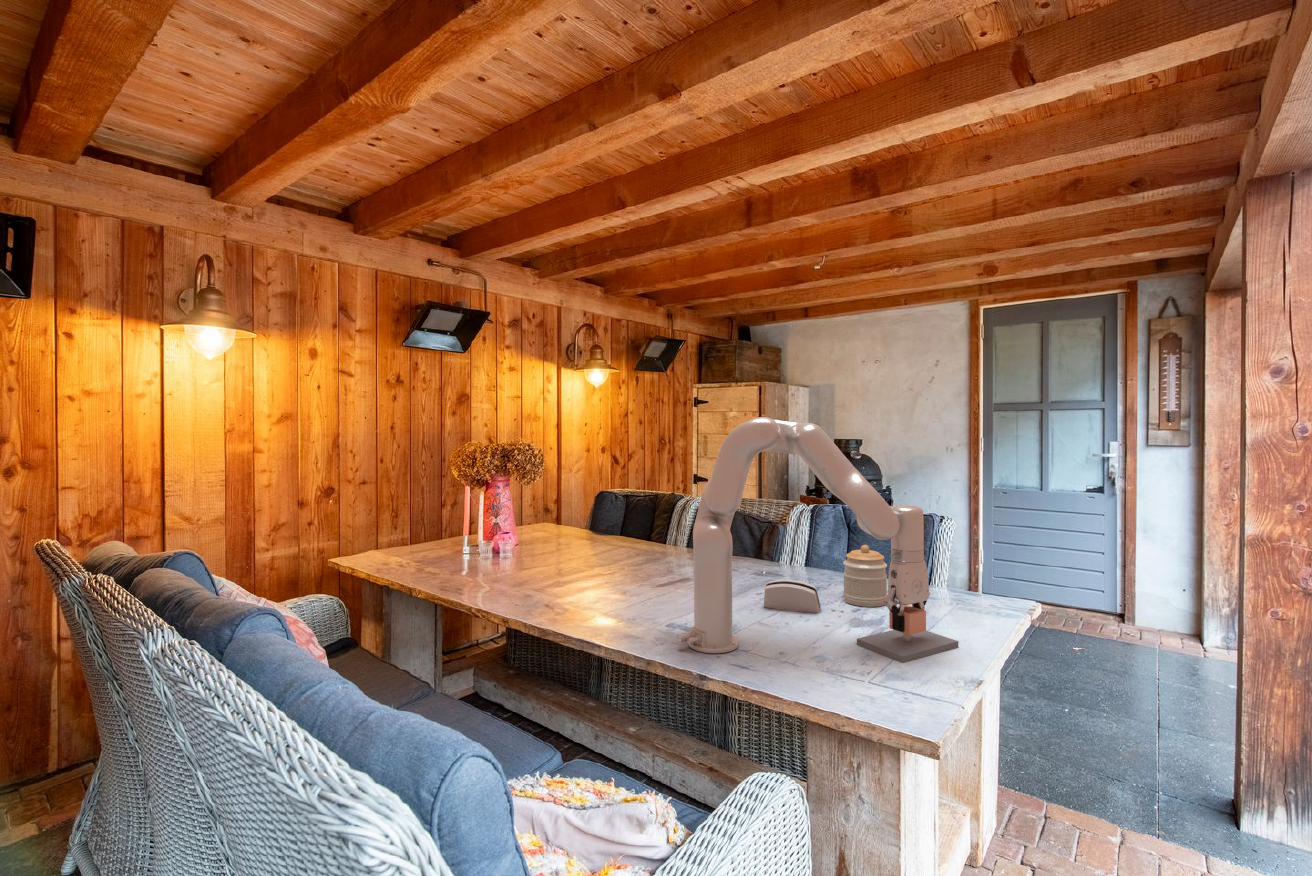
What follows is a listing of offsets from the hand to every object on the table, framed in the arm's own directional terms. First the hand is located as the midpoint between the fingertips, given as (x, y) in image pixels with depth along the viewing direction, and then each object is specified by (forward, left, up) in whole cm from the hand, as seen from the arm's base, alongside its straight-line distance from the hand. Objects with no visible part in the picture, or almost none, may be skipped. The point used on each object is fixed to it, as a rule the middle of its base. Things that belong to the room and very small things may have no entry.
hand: (907, 627), depth 159 cm
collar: (0, 0, -1) cm, 1 cm away
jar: (+21, +33, -5) cm, 39 cm away
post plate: (0, 0, -5) cm, 5 cm away
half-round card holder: (-4, +39, -5) cm, 39 cm away
